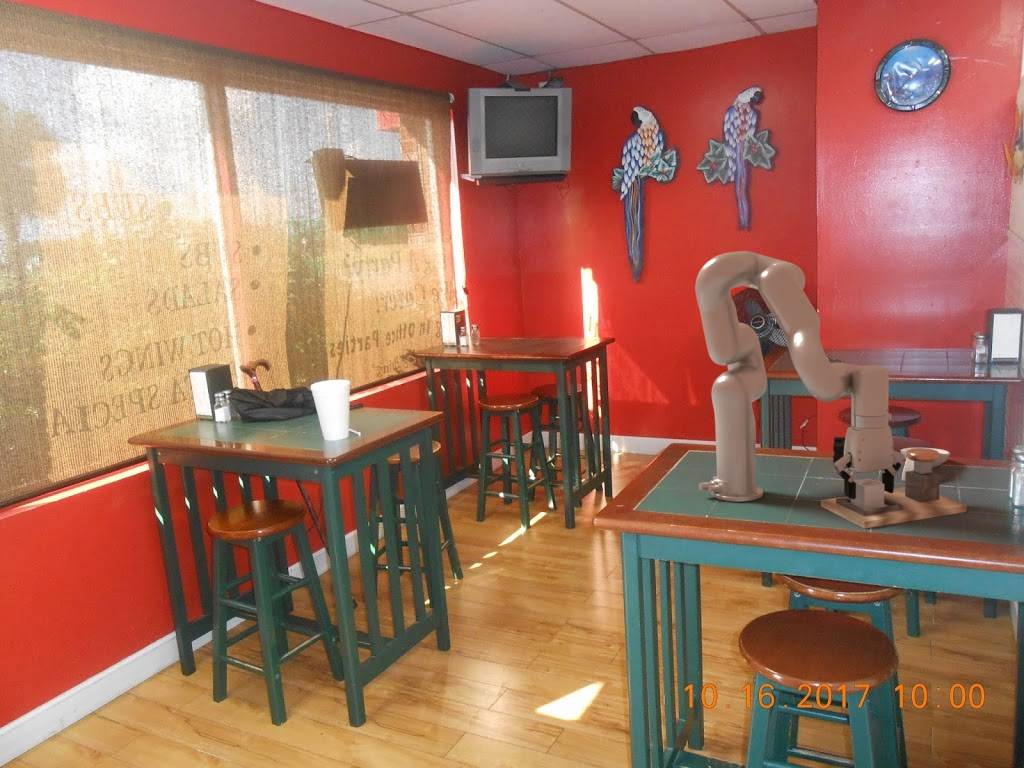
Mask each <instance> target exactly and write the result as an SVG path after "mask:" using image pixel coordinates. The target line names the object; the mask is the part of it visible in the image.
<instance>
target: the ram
mask: <svg viewBox="0 0 1024 768" xmlns="http://www.w3.org/2000/svg"><path fill="white" fill-rule="evenodd" d="M914 448H915V449H910V450H908V451H907V458H908V459H910V460H912V461H914V473H916V474H918V475H921V476H923V475H929V474H932V472H933V471H932V462H934V461H937V460H939V452H938V451H936V450H932V449H925V448H926V447H914Z"/></svg>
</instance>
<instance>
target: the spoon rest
mask: <svg viewBox="0 0 1024 768" xmlns="http://www.w3.org/2000/svg"><path fill="white" fill-rule="evenodd" d="M915 448H916V447H906V448H902V449H900V453H901V454H903V455H904V460H905V463H904V467H903V470H902V475H901V481H902V482H905V478H906V471H913V470H914V461H912V460H910V459H908V458H907V451H908V450H910V449H915ZM924 448H925V449H932V450H936V451H938V452H939V460H937V461H934V462H932V468H933V467H934V468H936V467H938V466H940V465H942V464H944V463H946V461H947V460H948V459H949V457H950V455H951V453H950V451H947V450H945V449H940V448H934V447H931V448H930V447H924Z"/></svg>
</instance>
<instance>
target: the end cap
mask: <svg viewBox="0 0 1024 768" xmlns="http://www.w3.org/2000/svg"><path fill="white" fill-rule="evenodd" d="M845 438H846V436H843V437H841V436H834V438H833V445H832V451H833V457H832V458H833V459H832V460H833V464H832V465H833V467H834V463H835V462H836V461H838V460H839V459H841V458H842V457H843V456H844V445H845Z"/></svg>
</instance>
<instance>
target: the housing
mask: <svg viewBox="0 0 1024 768" xmlns="http://www.w3.org/2000/svg"><path fill="white" fill-rule="evenodd" d="M854 482H856V498H855V499H851V504H853V505H856V506H858V507H860V508H862V509H864V510H867V509H874V508H880V507H884V484H883V483H882V481H878V480H875V479H873V478H871V477H868V478H867V477H866V478H860V479H854Z"/></svg>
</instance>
